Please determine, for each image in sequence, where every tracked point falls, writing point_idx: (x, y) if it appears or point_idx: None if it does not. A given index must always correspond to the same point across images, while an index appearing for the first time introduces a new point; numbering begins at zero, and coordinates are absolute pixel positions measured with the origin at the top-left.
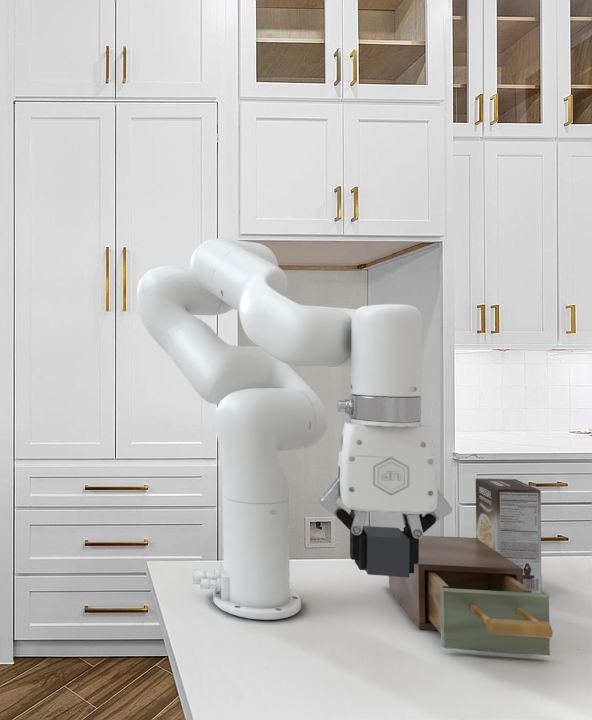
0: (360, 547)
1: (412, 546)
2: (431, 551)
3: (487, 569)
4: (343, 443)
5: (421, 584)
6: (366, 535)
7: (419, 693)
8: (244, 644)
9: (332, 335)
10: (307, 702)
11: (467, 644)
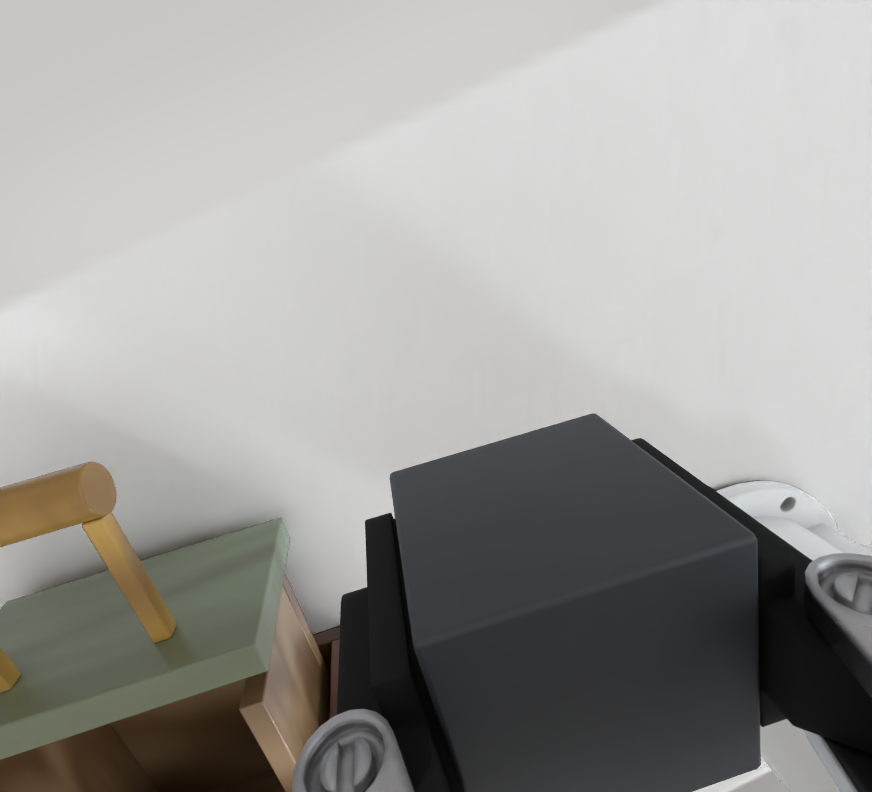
0: (724, 502)
1: (383, 630)
2: None
3: None
4: None
5: None
6: (752, 580)
7: (342, 258)
8: (761, 341)
9: None
10: (621, 74)
11: (218, 544)
